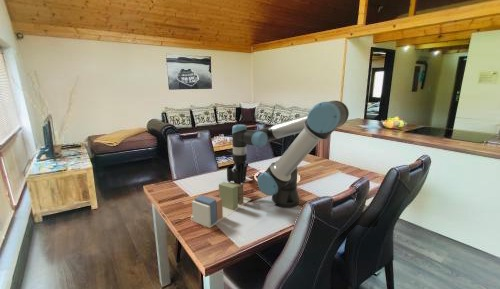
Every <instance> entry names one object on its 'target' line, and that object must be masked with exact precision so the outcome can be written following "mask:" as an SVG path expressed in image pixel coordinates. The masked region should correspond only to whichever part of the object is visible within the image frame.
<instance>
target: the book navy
mask: <svg viewBox="0 0 500 289" xmlns="http://www.w3.org/2000/svg"><path fill="white" fill-rule="evenodd" d="M206 196H207V195H203V194H201V195H199V196H197V197H195V198H194V201H196V202H199V203H202V204H205V205H208V206H210V217H211V225H212V224H214V223H215V222H217V208H216V199H213V198H209V197H206Z"/></svg>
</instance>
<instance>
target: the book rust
mask: <svg viewBox="0 0 500 289" xmlns="http://www.w3.org/2000/svg"><path fill="white" fill-rule="evenodd" d="M205 196H206V197H209V198H213V199H216V208H217V220H219V219H220V218H222V217H223V208H222V199H221V198H219V196H215V195H211V194H208V195H205Z"/></svg>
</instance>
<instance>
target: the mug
mask: <svg viewBox="0 0 500 289" xmlns="http://www.w3.org/2000/svg"><path fill="white" fill-rule="evenodd" d="M233 167H234V164H233V165H228V166H227V167H226V180H227V182H234V179H233V174H232V171H231V168H233Z"/></svg>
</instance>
